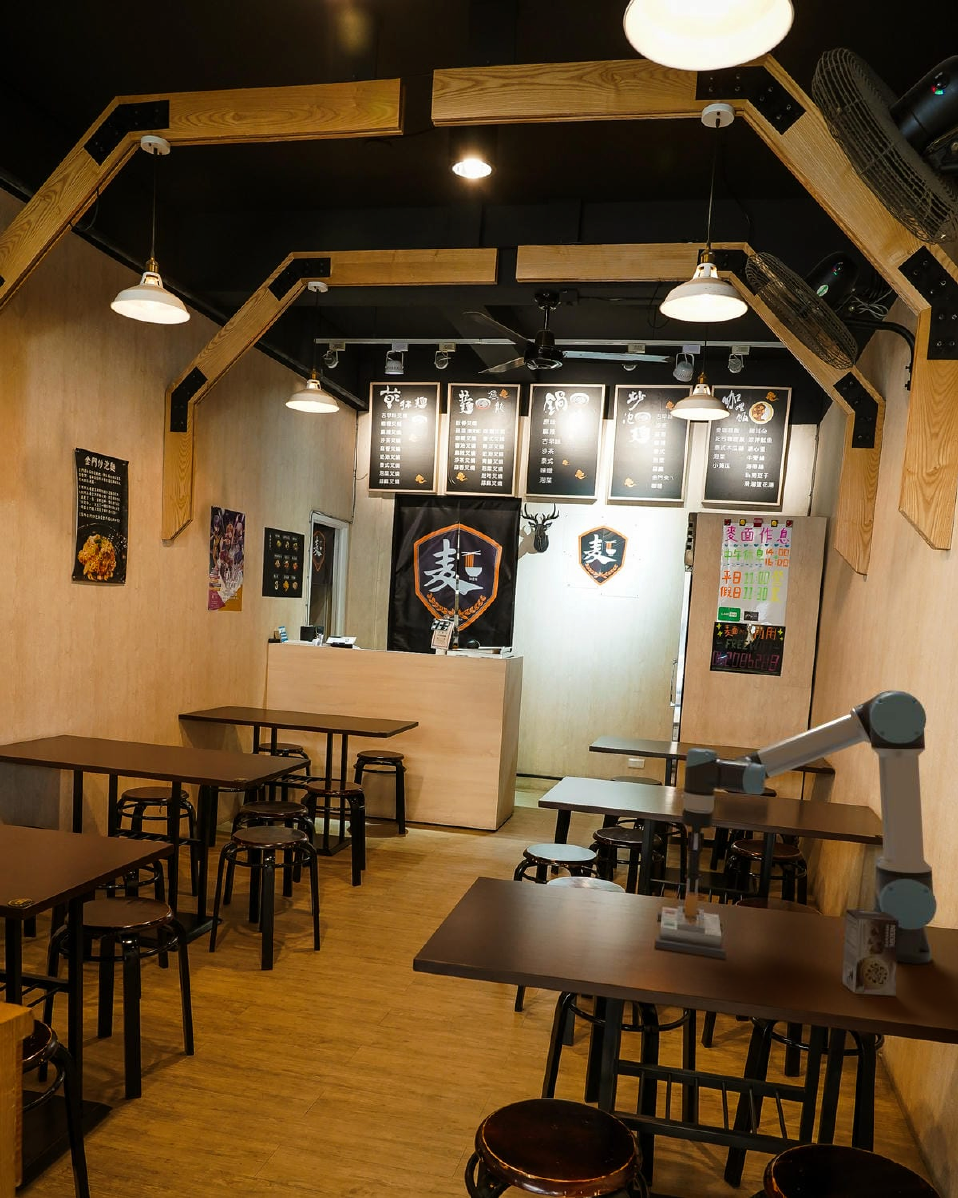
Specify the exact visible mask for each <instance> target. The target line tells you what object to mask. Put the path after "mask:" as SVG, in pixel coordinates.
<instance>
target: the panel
mask: <svg viewBox="0 0 958 1198" xmlns="http://www.w3.org/2000/svg"><path fill="white" fill-rule="evenodd" d="M684 912H685V906H681V905H677V908H674V907H672V908H671V907H666V906H662V909H661V913H662V917H661V921H660V931H659V939H660V940H666V941H672V942H679V943H685V944H692V945H698V946H705V947H711V948H718V949H722V948H721V946H722V929H720V922H721V921H720V916H719V914H714V913H707V912H705V911H704V909H701V908H697V917H694V916H687V915H684Z"/></svg>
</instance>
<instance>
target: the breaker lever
mask: <svg viewBox="0 0 958 1198" xmlns="http://www.w3.org/2000/svg"><path fill="white" fill-rule="evenodd" d="M684 900H685V901H684V907H685V912H684V915H687V916H694V917H697V909H698V906H699V905H698V903H699V894H698V893H697V894H690V893H686V892H685V899H684Z"/></svg>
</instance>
